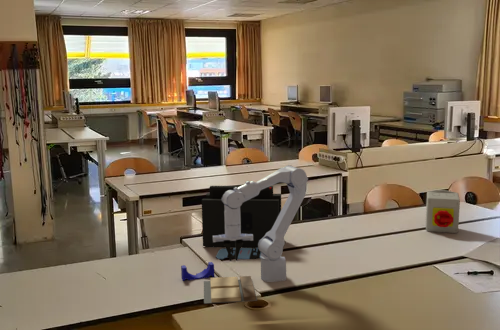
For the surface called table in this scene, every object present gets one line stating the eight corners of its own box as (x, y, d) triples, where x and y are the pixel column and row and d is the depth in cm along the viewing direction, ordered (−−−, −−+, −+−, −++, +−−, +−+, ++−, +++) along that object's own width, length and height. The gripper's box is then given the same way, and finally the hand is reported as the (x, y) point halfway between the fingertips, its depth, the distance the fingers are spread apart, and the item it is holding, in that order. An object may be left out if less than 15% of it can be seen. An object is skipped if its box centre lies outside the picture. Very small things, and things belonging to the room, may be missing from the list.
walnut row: (250, 279, 199) (250, 275, 199) (255, 300, 180) (255, 296, 180) (240, 280, 199) (239, 276, 199) (244, 300, 180) (243, 296, 180)
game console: (281, 239, 252) (281, 183, 248) (278, 260, 223) (278, 197, 219) (208, 238, 256) (206, 183, 252) (196, 258, 226) (194, 197, 222)
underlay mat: (251, 281, 200) (251, 279, 200) (257, 302, 180) (257, 300, 180) (203, 283, 198) (203, 281, 198) (204, 305, 179) (203, 303, 178)
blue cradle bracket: (211, 275, 207) (211, 260, 206) (214, 279, 203) (214, 264, 202) (180, 279, 203) (180, 264, 202) (183, 283, 199) (182, 268, 198)
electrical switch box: (425, 238, 257) (427, 199, 251) (425, 226, 270) (427, 189, 264) (458, 240, 252) (461, 201, 246) (456, 228, 266) (458, 190, 260)
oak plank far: (237, 280, 199) (237, 276, 199) (238, 288, 190) (238, 285, 190) (210, 281, 198) (210, 277, 198) (210, 290, 190) (210, 286, 189)
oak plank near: (239, 291, 188) (239, 287, 188) (241, 300, 180) (240, 296, 180) (210, 292, 188) (210, 288, 187) (211, 302, 179) (211, 298, 179)
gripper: (212, 227, 187) (213, 264, 189) (253, 225, 188) (254, 262, 190) (212, 222, 194) (213, 258, 196) (251, 220, 195) (252, 256, 197)
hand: (233, 260), depth 194 cm, fingers closed
